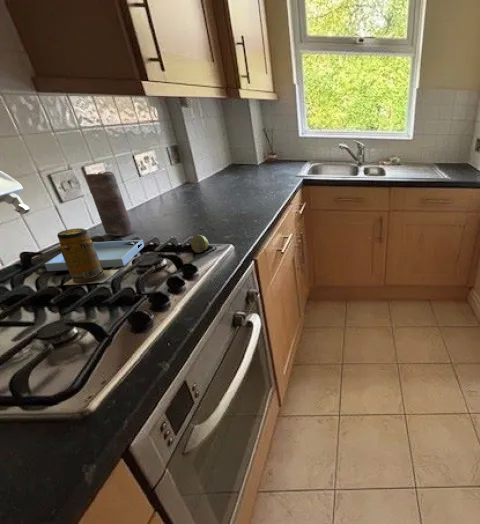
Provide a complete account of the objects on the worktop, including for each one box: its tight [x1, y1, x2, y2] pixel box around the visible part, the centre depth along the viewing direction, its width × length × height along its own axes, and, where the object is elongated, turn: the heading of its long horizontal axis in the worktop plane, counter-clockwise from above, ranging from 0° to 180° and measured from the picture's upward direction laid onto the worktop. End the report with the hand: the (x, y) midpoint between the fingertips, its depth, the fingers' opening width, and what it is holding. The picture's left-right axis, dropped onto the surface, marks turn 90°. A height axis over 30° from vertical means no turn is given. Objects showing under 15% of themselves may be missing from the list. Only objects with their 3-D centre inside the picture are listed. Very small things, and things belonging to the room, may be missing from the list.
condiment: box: [56, 227, 119, 286], centre depth 79 cm, size 7×8×12 cm
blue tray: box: [44, 239, 145, 272], centre depth 91 cm, size 17×14×2 cm
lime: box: [190, 234, 210, 254], centre depth 96 cm, size 4×5×5 cm
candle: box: [84, 171, 134, 237], centre depth 104 cm, size 8×7×20 cm
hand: (10, 218), depth 72 cm, fingers open, 8 cm apart
